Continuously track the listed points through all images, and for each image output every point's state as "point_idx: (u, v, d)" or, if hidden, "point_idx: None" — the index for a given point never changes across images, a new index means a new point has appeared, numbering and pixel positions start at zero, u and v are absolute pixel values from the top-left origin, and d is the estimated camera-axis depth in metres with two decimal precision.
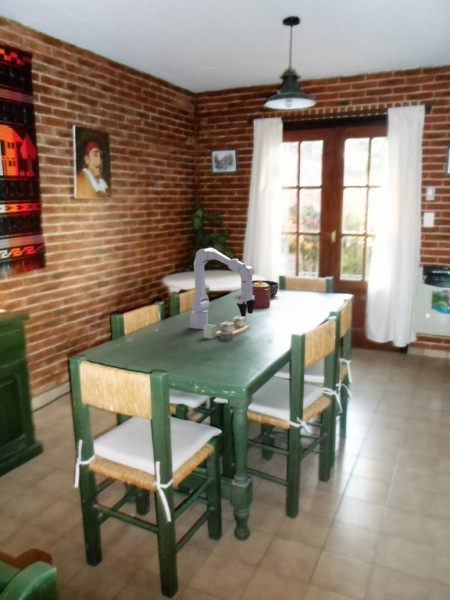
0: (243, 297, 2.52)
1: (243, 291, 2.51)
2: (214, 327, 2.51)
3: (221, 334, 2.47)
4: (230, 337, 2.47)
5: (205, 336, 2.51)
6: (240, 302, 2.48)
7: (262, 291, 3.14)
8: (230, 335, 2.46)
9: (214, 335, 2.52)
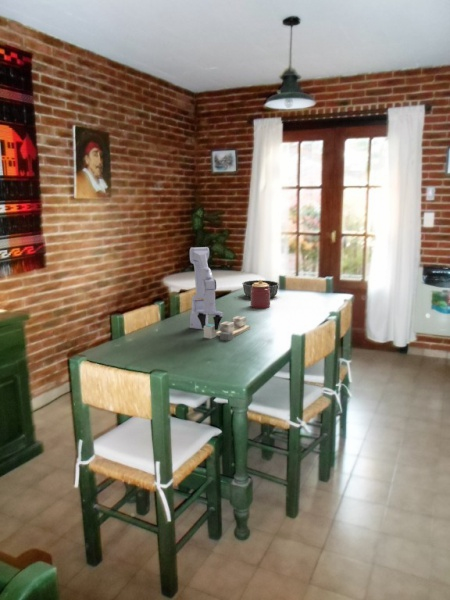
0: None
1: None
2: (214, 327, 2.51)
3: (221, 334, 2.47)
4: (230, 337, 2.47)
5: (205, 336, 2.51)
6: None
7: (262, 291, 3.14)
8: (230, 335, 2.46)
9: (214, 335, 2.52)
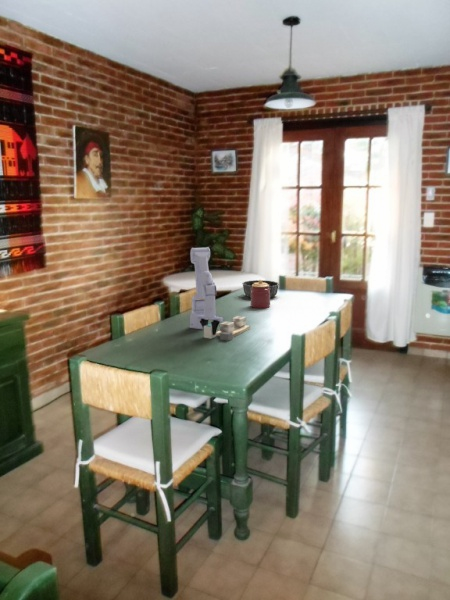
0: None
1: None
2: None
3: (221, 334, 2.47)
4: (230, 337, 2.47)
5: (205, 336, 2.51)
6: None
7: (262, 291, 3.14)
8: (230, 335, 2.46)
9: (214, 335, 2.52)
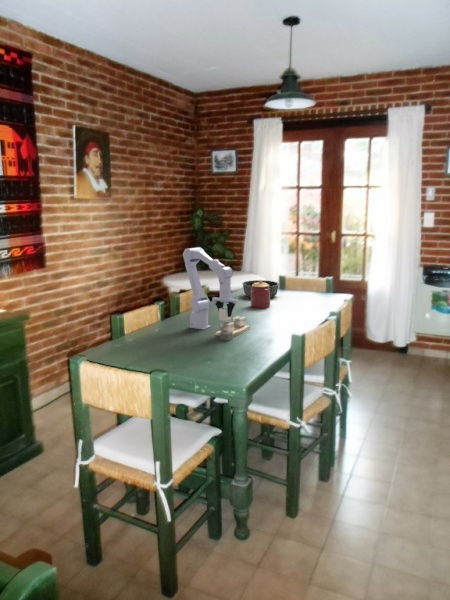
0: None
1: None
2: None
3: (221, 334, 2.47)
4: (230, 337, 2.47)
5: (220, 318, 2.55)
6: None
7: (262, 291, 3.14)
8: (230, 335, 2.46)
9: (229, 317, 2.56)
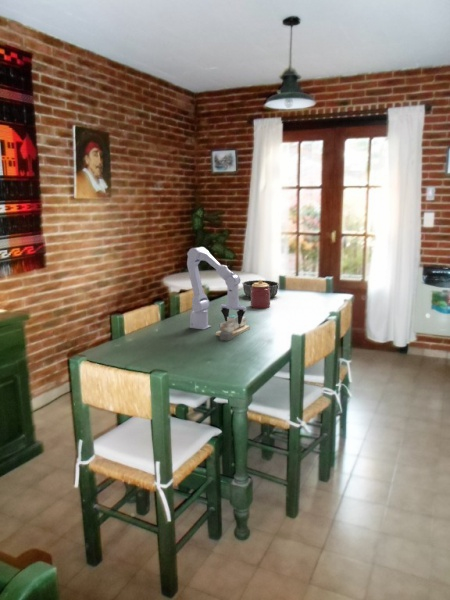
0: None
1: None
2: (237, 318, 2.60)
3: (221, 334, 2.47)
4: (230, 337, 2.47)
5: None
6: None
7: (262, 291, 3.14)
8: (230, 335, 2.46)
9: (237, 326, 2.61)
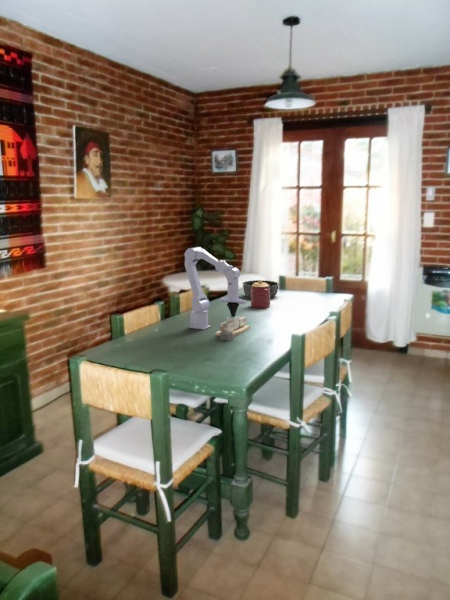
0: None
1: None
2: (237, 318, 2.60)
3: (221, 334, 2.47)
4: (230, 337, 2.46)
5: None
6: None
7: (262, 291, 3.14)
8: (230, 335, 2.46)
9: (237, 326, 2.61)
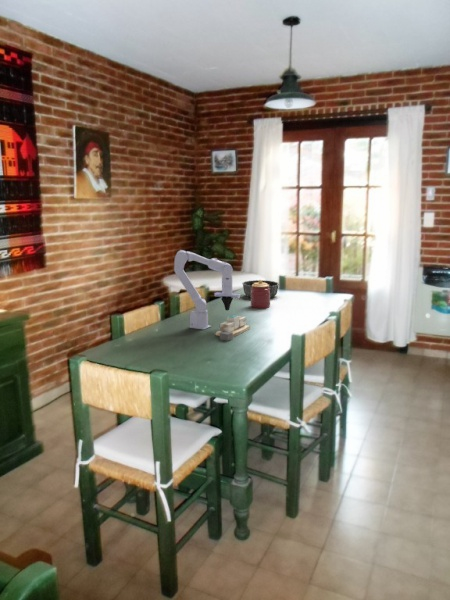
0: None
1: None
2: (237, 318, 2.60)
3: (221, 334, 2.47)
4: (230, 337, 2.46)
5: None
6: None
7: (262, 291, 3.14)
8: (230, 335, 2.46)
9: (237, 326, 2.61)
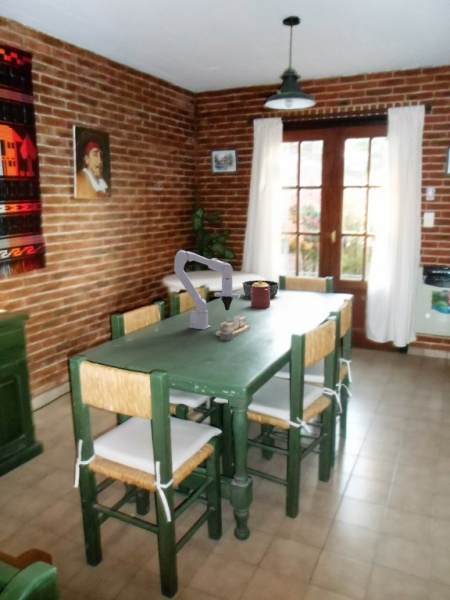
0: None
1: None
2: (237, 318, 2.60)
3: (221, 334, 2.47)
4: (230, 337, 2.46)
5: None
6: None
7: (262, 291, 3.14)
8: (230, 335, 2.46)
9: (237, 326, 2.61)
